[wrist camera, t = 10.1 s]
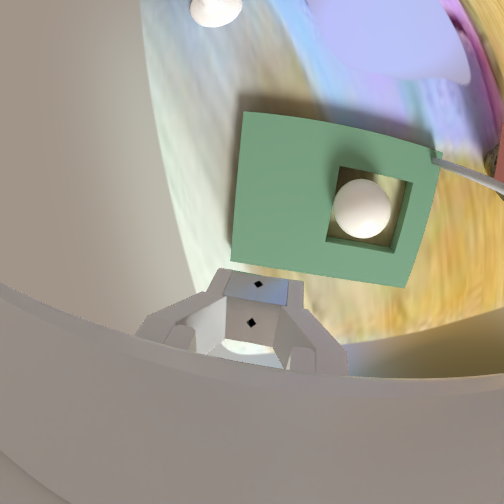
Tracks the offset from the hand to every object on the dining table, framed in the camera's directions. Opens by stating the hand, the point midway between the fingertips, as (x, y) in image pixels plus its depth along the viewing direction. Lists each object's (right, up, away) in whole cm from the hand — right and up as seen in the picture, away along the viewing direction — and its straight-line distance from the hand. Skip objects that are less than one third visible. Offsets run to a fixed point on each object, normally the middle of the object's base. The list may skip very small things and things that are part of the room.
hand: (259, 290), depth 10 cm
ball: (+9, +5, +12) cm, 16 cm away
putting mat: (+8, +7, +14) cm, 18 cm away
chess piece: (-4, +24, +8) cm, 26 cm away
